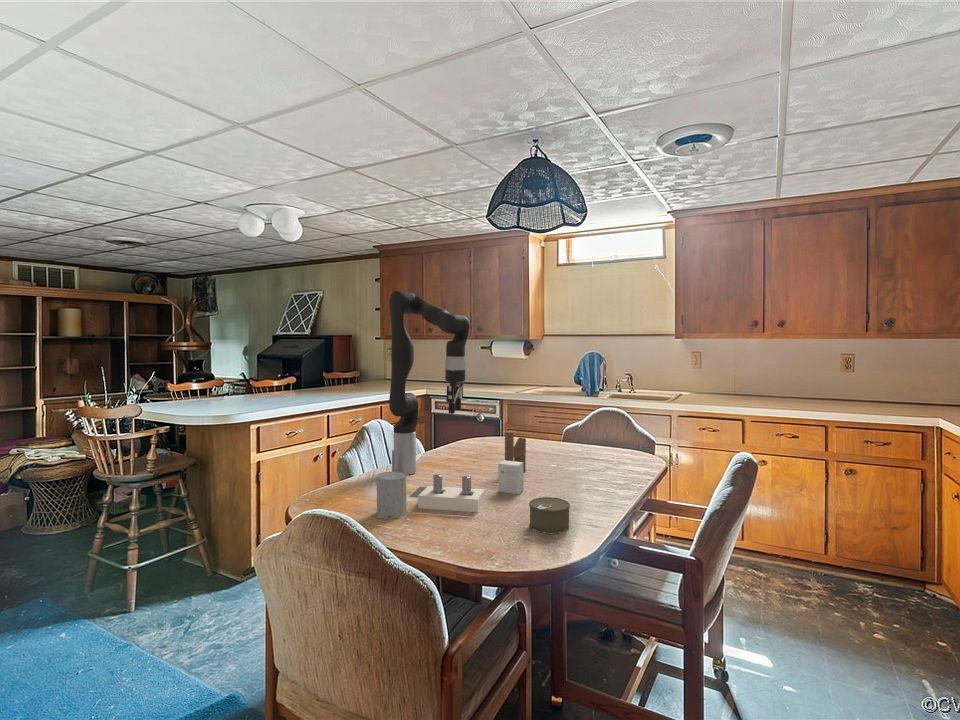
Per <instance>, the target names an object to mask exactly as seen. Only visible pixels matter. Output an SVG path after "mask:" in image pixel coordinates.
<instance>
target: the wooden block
mask: <svg viewBox="0 0 960 720" xmlns="http://www.w3.org/2000/svg"><path fill="white" fill-rule="evenodd" d="M514 434H515V433H514V431H512V430H506V431H505V432H504V460H505V461H515V462H523V473H525V472H526V467H527V466H526V465H527V464H526V461H527V460H526V454H527V450H526V446H527V445H526V443H527V441H526V440H527V439H526V437H519V436H518V438H517V441H516V443H514V436H515V435H514Z"/></svg>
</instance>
